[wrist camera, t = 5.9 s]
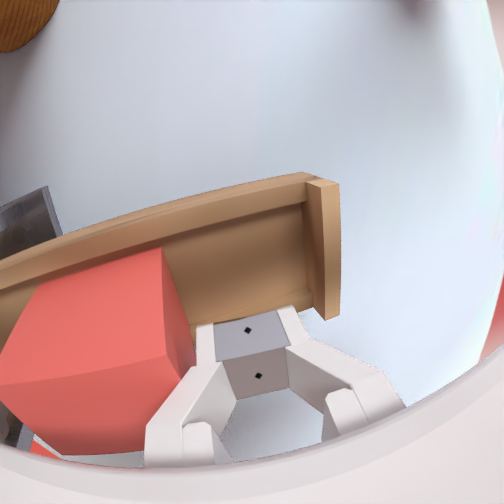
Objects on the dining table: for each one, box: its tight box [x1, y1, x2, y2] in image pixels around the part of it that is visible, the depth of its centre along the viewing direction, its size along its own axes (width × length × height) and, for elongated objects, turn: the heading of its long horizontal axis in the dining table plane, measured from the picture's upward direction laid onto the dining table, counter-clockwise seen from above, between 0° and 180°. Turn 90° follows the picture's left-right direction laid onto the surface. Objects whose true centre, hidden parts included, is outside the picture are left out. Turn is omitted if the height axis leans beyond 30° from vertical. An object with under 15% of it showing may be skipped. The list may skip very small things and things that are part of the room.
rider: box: [0, 246, 196, 455], centre depth 8 cm, size 4×6×6 cm, turn 100°
